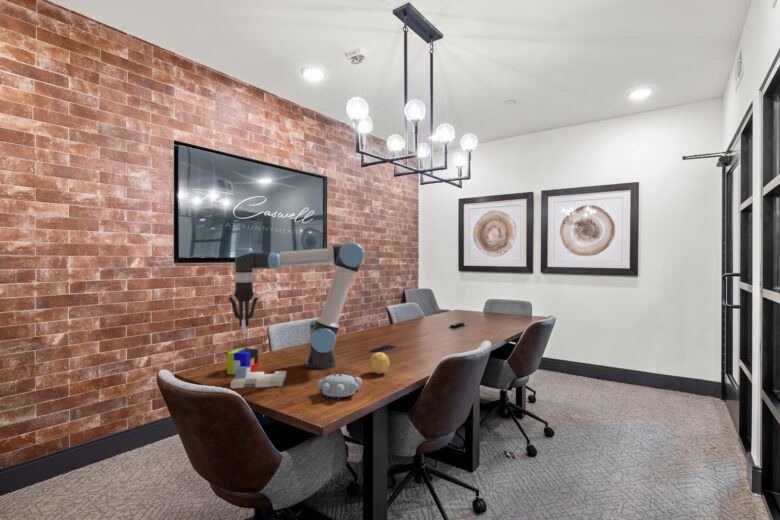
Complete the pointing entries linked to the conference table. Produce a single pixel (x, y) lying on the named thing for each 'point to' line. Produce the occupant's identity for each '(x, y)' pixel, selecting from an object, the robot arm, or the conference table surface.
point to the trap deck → (260, 380)
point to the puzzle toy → (242, 360)
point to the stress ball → (379, 362)
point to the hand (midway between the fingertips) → (244, 333)
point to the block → (240, 372)
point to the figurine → (339, 385)
